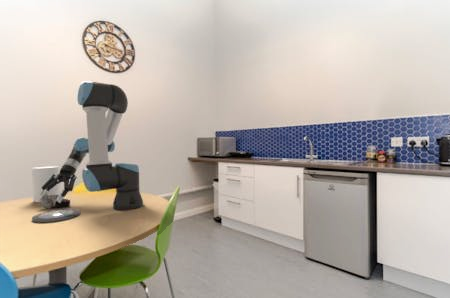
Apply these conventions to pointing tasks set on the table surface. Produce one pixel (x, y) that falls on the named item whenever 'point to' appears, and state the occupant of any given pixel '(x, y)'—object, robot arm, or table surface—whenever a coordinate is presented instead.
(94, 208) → the table surface
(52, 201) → the caster wheel
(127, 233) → the table surface
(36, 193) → the canister
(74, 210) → the carrier plate
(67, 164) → the robot arm
